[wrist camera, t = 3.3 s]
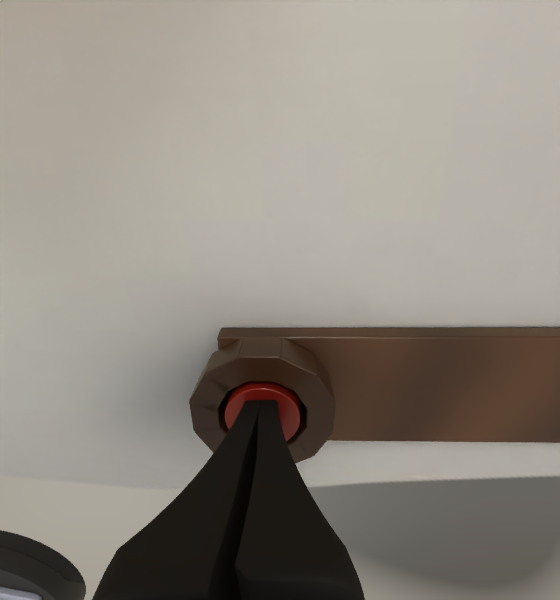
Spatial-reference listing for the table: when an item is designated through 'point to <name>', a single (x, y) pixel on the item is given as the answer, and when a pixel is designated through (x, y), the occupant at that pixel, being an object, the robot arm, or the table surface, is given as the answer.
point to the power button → (266, 391)
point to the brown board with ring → (392, 383)
